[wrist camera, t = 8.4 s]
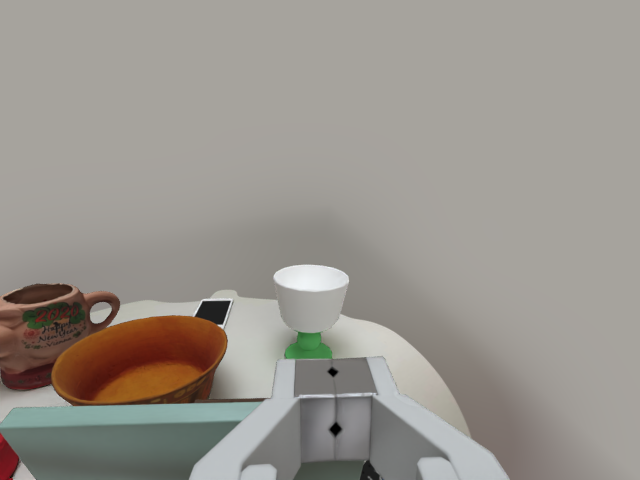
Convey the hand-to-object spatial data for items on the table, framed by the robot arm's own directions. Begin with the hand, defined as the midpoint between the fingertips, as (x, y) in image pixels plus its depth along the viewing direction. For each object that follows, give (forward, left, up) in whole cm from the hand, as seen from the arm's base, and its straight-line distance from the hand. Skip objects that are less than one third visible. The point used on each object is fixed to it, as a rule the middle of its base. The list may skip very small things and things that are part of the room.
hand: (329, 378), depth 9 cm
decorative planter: (+43, +41, -30) cm, 66 cm away
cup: (+46, -2, -30) cm, 55 cm away
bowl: (+33, +21, -30) cm, 49 cm away
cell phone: (+62, +20, -29) cm, 71 cm away
